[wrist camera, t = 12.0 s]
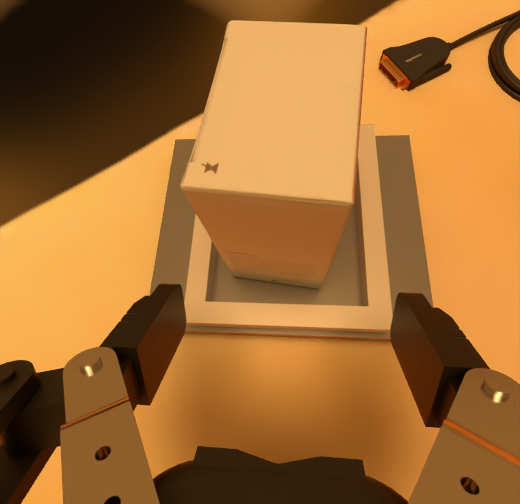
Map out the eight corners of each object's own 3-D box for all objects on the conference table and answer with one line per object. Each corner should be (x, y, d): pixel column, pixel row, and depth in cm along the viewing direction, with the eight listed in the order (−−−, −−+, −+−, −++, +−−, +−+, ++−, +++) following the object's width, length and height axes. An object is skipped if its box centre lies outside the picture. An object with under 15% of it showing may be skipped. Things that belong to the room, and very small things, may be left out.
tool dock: (401, 149, 24) (417, 119, 21) (426, 342, 19) (451, 338, 16) (181, 152, 25) (168, 125, 22) (153, 331, 20) (132, 325, 18)
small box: (321, 291, 19) (357, 210, 9) (230, 278, 20) (174, 190, 10) (333, 177, 22) (372, 19, 12) (253, 169, 22) (226, 14, 12)
